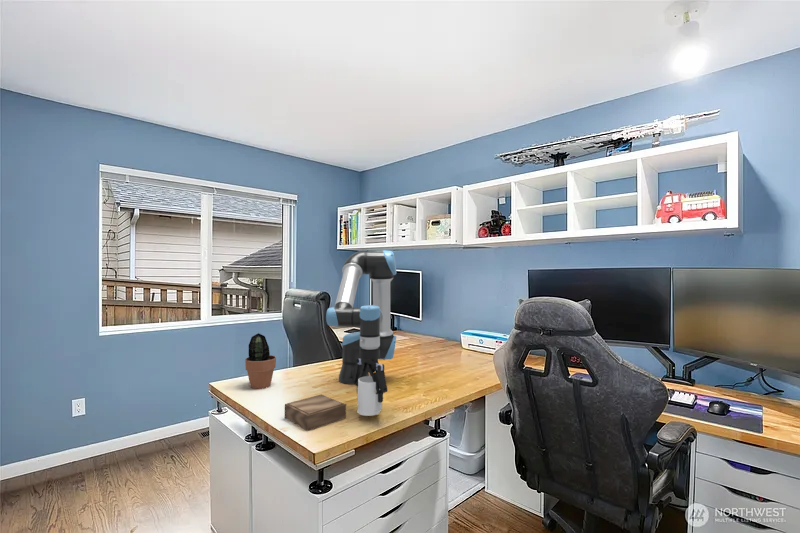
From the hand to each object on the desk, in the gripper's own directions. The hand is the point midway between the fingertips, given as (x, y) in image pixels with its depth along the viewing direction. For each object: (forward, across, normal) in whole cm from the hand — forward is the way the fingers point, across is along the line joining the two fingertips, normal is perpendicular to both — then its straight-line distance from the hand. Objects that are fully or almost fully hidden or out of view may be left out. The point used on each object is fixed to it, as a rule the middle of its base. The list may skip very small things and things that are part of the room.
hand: (369, 406), depth 144 cm
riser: (+4, -13, -16) cm, 20 cm away
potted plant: (+5, -64, -12) cm, 65 cm away
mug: (+2, 0, 0) cm, 2 cm away
